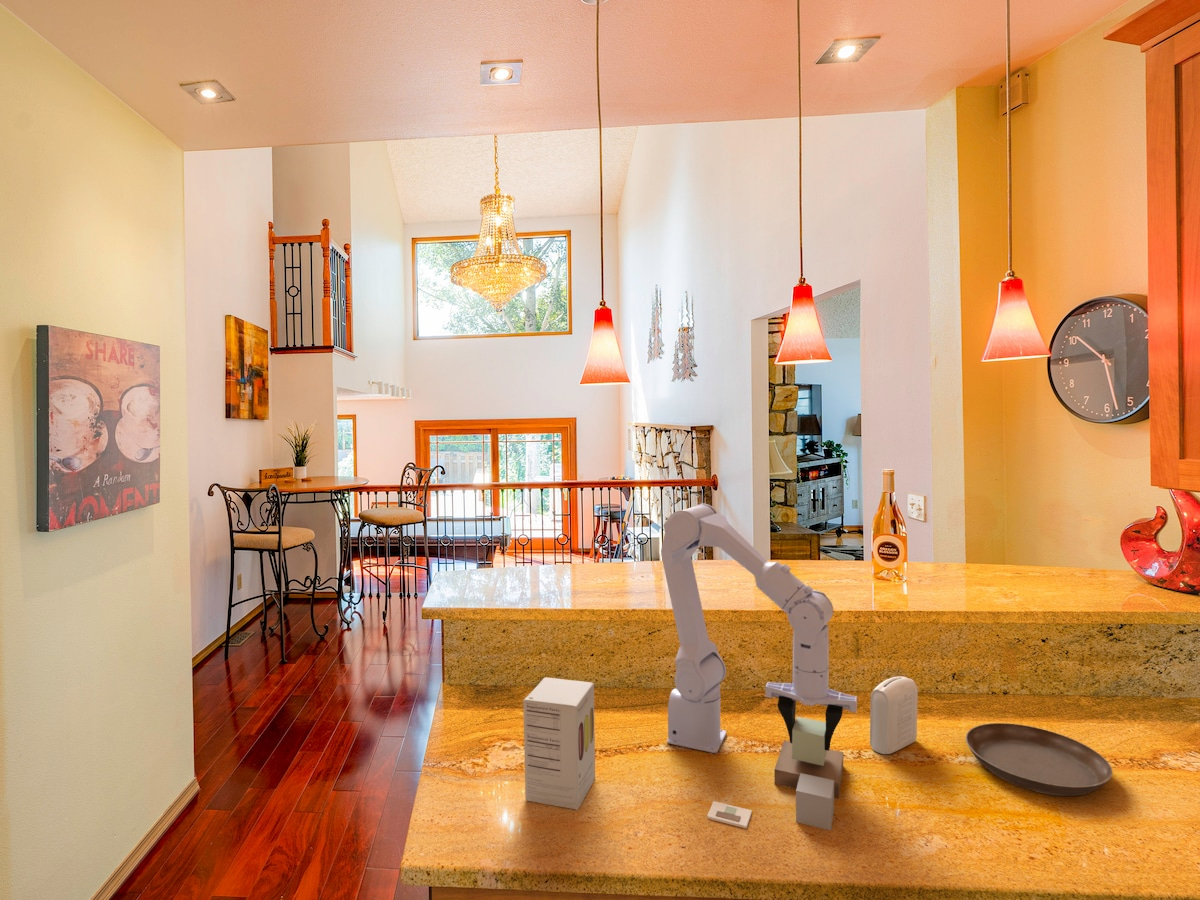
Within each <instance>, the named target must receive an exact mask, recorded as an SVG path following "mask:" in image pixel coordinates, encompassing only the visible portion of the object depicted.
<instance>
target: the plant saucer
mask: <svg viewBox="0 0 1200 900" xmlns="http://www.w3.org/2000/svg"><path fill="white" fill-rule="evenodd" d="M965 742H966V744H967V746H968V748H969V750H970V752H971V754H973V756H974V758H975V759H976V760H977V761H978V762H979V763H980V764H981V765H983V767H985V769H987V770H988V771H989V772H991V773H992V774H994V775H995V776H997V777H998V778H1000V779H1002V780H1004V781H1007V783H1011V784H1012V785H1015V786H1017V787H1019V788H1023V789H1026V790H1030V791H1033V792H1034V793H1035V792H1037V793H1041V794H1045V795H1046V794H1047V795H1052V796H1060V797H1075V796H1076V797H1077V796H1082V795H1086V794H1090V793H1092V792H1094V791H1096V790H1099V789H1100V788H1102V787H1103V786H1104V785H1105V784H1107V783H1108V782H1109V781H1110V779H1112V776H1113V768H1112V766H1111V764H1110V763H1109V762H1108V761H1107V759H1106V758H1105V757H1104V756H1102V755H1101V754H1100V753H1098V752H1097V751H1096V750H1094V749H1093V748H1091V747H1089V746H1088V745H1086V744H1084V743H1082V742H1080V741H1077V740H1076V739H1073V738H1070V737H1068V736H1065V735H1063V734H1060V733H1057V732H1054V731H1051V730H1048V729H1043V728H1040V727H1035V726H1030V725H1023V724H1017V723H1008V722H1007V723H1006V722H1005V723H1003V722H994V723H993V722H992V723H991V722H990V723H984V724H979V725H975V726H974V727H972V728H971V729H969V730H968V731H967V733H966V734H965Z"/></svg>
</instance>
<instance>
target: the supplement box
mask: <svg viewBox="0 0 1200 900" xmlns="http://www.w3.org/2000/svg"><path fill="white" fill-rule="evenodd" d="M522 706H523V707H522V709H523V711H522V712H523V741H524V742H523V743H524V745H523V747H524V748H523V749H524V783H525V784H524V785H525V786H524V787H525V788H524V790H525V792H524V794H525V795H524V796H525V801H527V802H532V803H539V804H544V805H549V806H556V807H561V808H567V809H571V810H575V811H578V810H579V809H580V807H581V805H582V803H583V801H584V799H585V798H586V796H587V794H588V793H589V790H590V789H591V787H592V785H593V783H594V781H595V780H596V749H595V747H596V746H595V745H596V743H595V741H596V739H595V738H596V736H595V735H596V734H595V684H594V682H591V681H590V682H589V681H583V680H582V681H581V680H573V679H563V678H556V677H555V678H554V677H545V676H544V677H543V679H541V681H540V682H539V683H538V684H537V685H536V687H534V689H532V691H531V692H530V693H529V694H528V695H527V696H525V698H524V699H523V703H522Z"/></svg>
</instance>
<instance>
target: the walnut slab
mask: <svg viewBox="0 0 1200 900" xmlns="http://www.w3.org/2000/svg"><path fill="white" fill-rule="evenodd" d="M843 771H844V751H839V750H836V749H835V750H834V749H831V748H830V749H829V751H828V750H827V753H826V757H825V761H824V766H822V765H817V764H813V763H809V762H804V761H800V760H795V759H792V743H790V740H783V743H782V746H781V749H780V752H779V755H778V758H777V760H776V764H775V767H774V779H773V780H774V785H777V786H780V787H785V788H788V789H789V788H790V789H794V790H796V789H797V785H798V781H799V777H800V773H803V774H807V775H812V776H817V777H821V778H826V779H831V780H834V799H839V798H840V792H841V791H840V790H841V783H842V778H843V777H842V776H843Z"/></svg>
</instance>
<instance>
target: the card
mask: <svg viewBox="0 0 1200 900" xmlns="http://www.w3.org/2000/svg"><path fill="white" fill-rule="evenodd" d="M752 814H753V810H751V809H747V808H743V807H739V806H735V805H733V804H732V805H731V804H728V803H724V802H718V801H715V800H713V801H712V803H711V807H710V808H709V811H708V813H707V815H706V819H707V820H712V821H716V822H718V823H719V822H720V823H723V824H728V825H731V826H733V827H734V826H735V827H739V828H742V829H748V826H749V823H750V820H751V817H752Z"/></svg>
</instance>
